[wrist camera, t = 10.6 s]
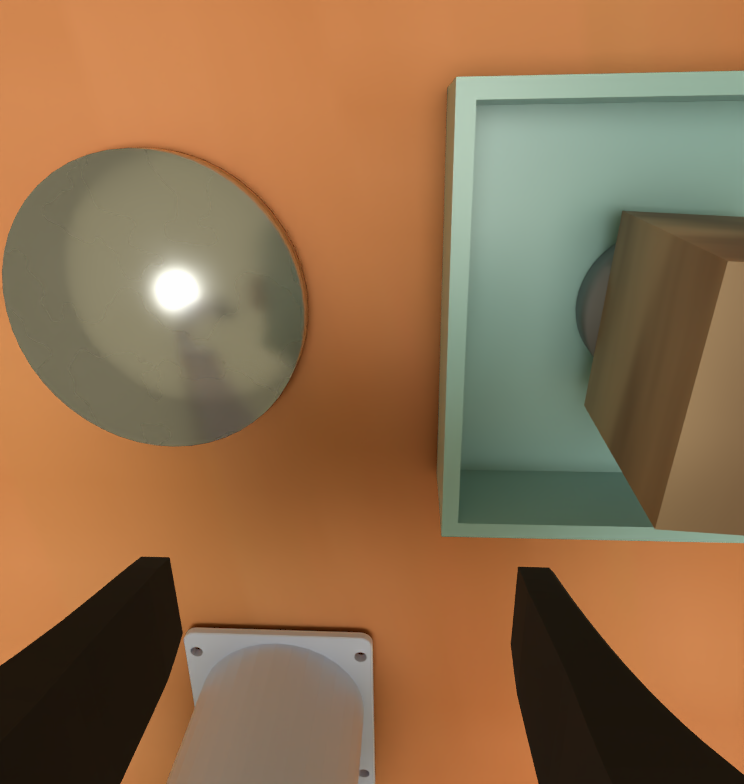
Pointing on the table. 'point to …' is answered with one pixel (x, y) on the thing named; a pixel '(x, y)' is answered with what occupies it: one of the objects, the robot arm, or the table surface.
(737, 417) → the brown wooden block
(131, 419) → the steel base plate
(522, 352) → the teal bin
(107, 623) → the robot arm
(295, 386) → the table surface
